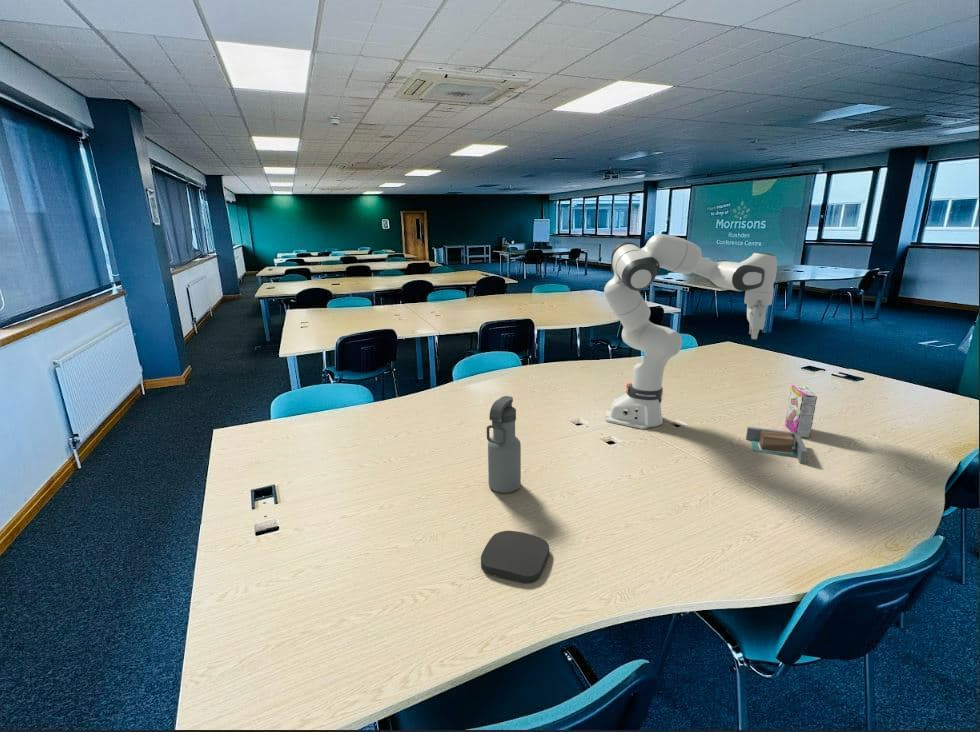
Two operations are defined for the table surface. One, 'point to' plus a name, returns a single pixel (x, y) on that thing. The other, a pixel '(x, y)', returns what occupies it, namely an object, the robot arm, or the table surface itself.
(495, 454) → the water bottle
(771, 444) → the walnut block
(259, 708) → the table surface
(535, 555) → the media streaming box
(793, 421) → the candy bar box
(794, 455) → the corner bracket
